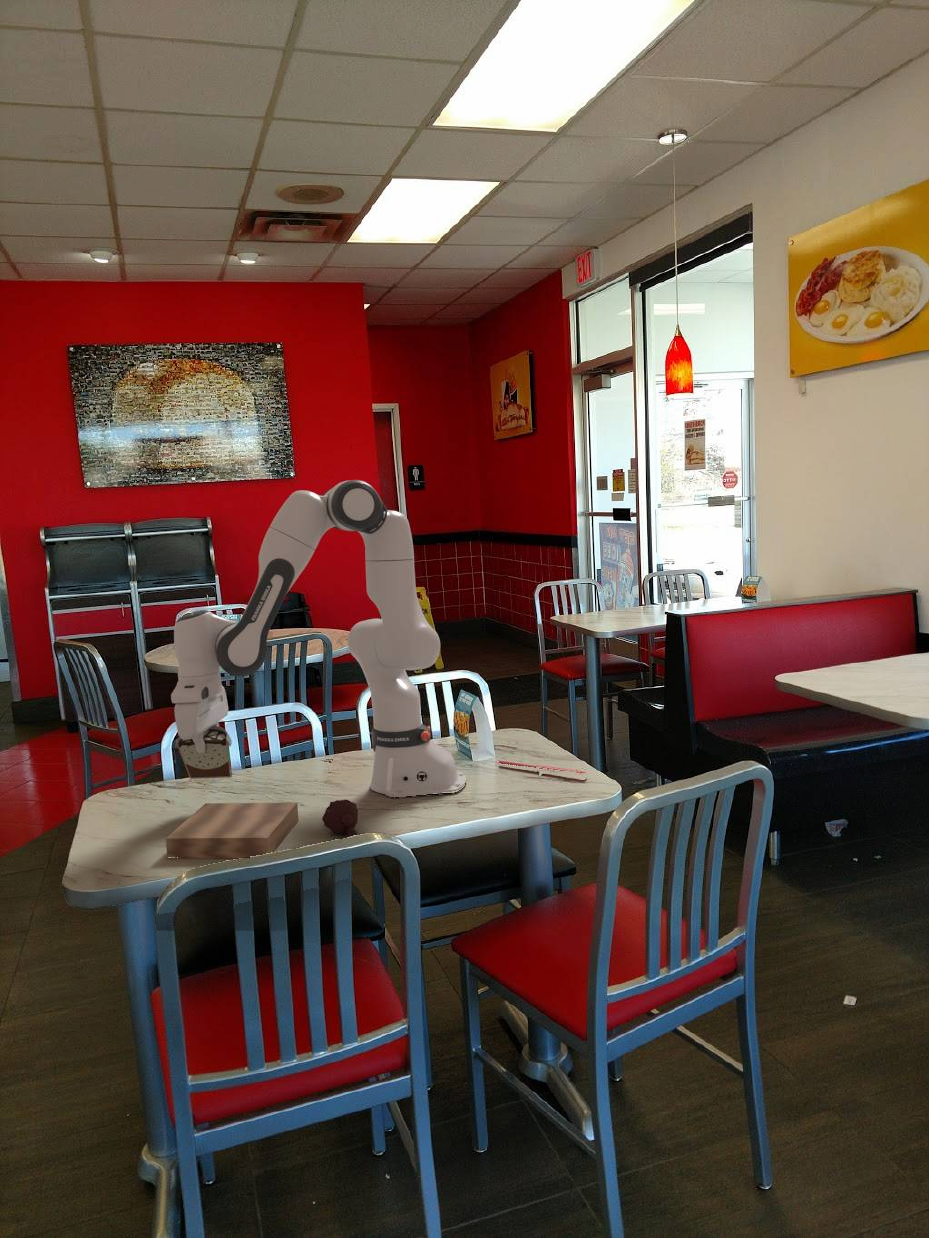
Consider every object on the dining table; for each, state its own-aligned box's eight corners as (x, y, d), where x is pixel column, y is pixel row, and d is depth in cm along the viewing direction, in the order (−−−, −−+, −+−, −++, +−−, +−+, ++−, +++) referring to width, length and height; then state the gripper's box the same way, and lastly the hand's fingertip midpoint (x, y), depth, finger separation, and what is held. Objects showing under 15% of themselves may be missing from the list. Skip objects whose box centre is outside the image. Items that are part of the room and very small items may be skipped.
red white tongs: (580, 787, 207) (589, 776, 210) (579, 779, 206) (588, 768, 209) (494, 773, 221) (503, 762, 224) (492, 766, 220) (502, 755, 223)
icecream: (309, 795, 186) (329, 823, 173) (342, 781, 189) (364, 807, 175) (319, 823, 188) (339, 854, 175) (351, 809, 191) (374, 838, 177)
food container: (245, 761, 203) (237, 723, 199) (237, 777, 198) (228, 738, 193) (193, 763, 204) (183, 725, 200) (183, 779, 199) (173, 740, 195)
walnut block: (298, 820, 190) (297, 802, 189) (269, 858, 170) (267, 837, 170) (207, 821, 192) (205, 803, 191) (167, 858, 172) (165, 838, 172)
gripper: (205, 676, 206) (211, 734, 208) (167, 697, 186) (174, 762, 188) (231, 674, 205) (237, 733, 207) (196, 696, 185) (203, 760, 187)
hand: (207, 747), depth 197 cm, fingers closed on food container, 5 cm apart
